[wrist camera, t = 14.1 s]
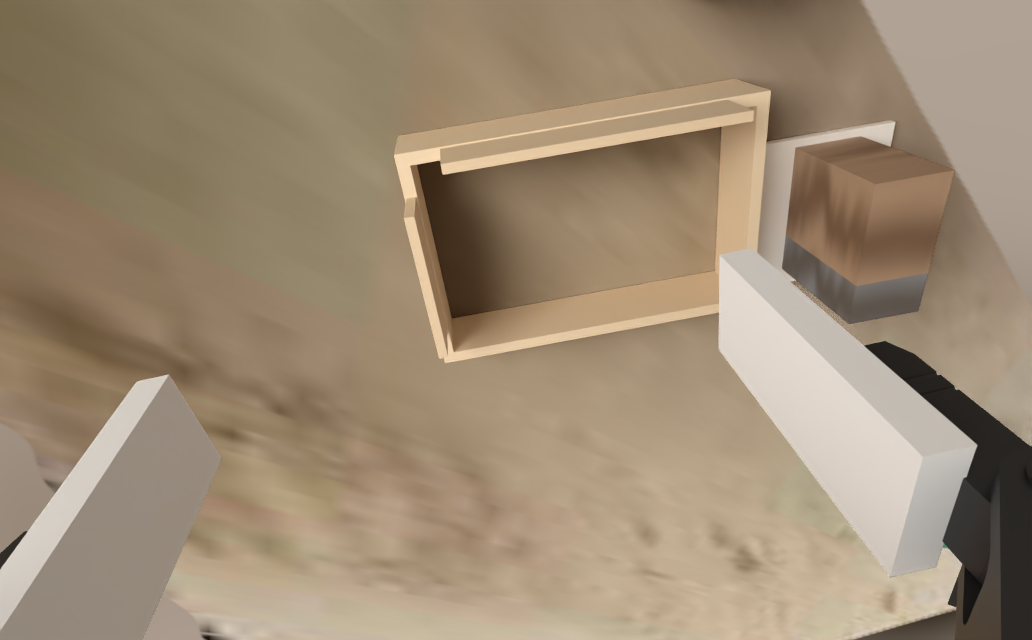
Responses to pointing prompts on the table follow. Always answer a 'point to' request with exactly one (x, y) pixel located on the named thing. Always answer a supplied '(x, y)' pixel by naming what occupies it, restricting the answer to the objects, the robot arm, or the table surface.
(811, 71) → the table surface
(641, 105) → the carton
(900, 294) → the walnut block
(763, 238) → the plate
